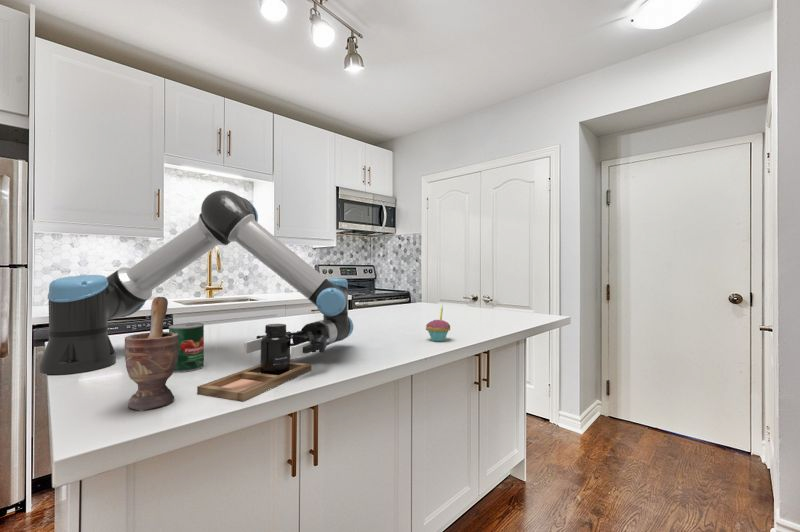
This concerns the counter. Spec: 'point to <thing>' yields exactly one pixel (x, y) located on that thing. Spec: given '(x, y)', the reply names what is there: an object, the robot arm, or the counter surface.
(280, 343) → the supplement bottle
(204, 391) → the divided wooden tray
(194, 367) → the canned tomato
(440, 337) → the cupcake
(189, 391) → the counter surface
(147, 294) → the robot arm
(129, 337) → the mortar and pestle
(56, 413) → the counter surface
